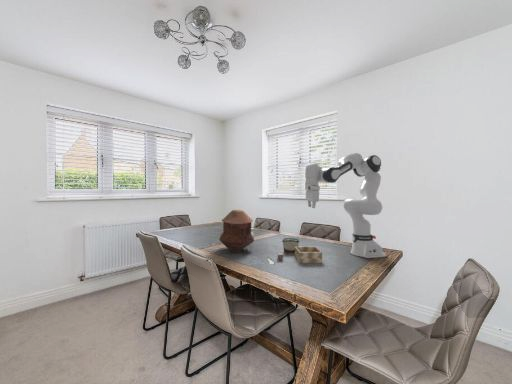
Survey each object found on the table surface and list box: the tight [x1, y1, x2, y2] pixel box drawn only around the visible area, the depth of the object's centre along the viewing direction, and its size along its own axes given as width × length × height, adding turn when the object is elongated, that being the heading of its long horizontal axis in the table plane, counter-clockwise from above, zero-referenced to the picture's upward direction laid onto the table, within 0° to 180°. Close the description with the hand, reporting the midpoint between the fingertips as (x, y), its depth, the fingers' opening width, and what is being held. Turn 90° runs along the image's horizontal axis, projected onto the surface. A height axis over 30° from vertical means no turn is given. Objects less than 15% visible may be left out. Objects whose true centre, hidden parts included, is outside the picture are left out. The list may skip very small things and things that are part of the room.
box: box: [294, 246, 323, 264], centre depth 150 cm, size 14×14×7 cm
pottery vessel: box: [218, 209, 255, 253], centre depth 173 cm, size 26×26×30 cm
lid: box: [267, 252, 284, 266], centre depth 149 cm, size 15×15×5 cm
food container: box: [281, 237, 301, 254], centre depth 167 cm, size 12×6×10 cm, turn 84°
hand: (311, 207), depth 159 cm, fingers open, 8 cm apart
